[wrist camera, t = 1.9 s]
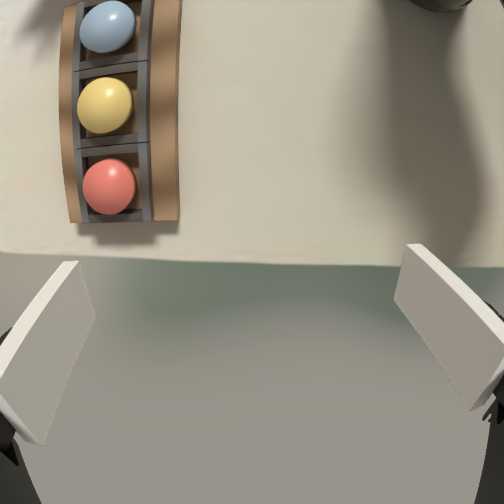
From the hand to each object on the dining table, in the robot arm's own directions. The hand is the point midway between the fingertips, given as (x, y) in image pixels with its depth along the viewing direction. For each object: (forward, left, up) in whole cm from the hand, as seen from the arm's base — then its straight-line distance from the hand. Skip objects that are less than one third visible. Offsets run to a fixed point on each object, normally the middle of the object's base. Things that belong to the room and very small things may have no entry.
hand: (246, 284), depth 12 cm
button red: (0, -11, -18) cm, 21 cm away
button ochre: (-7, -11, -18) cm, 22 cm away
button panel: (-7, -11, -21) cm, 25 cm away
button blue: (-15, -11, -18) cm, 26 cm away
